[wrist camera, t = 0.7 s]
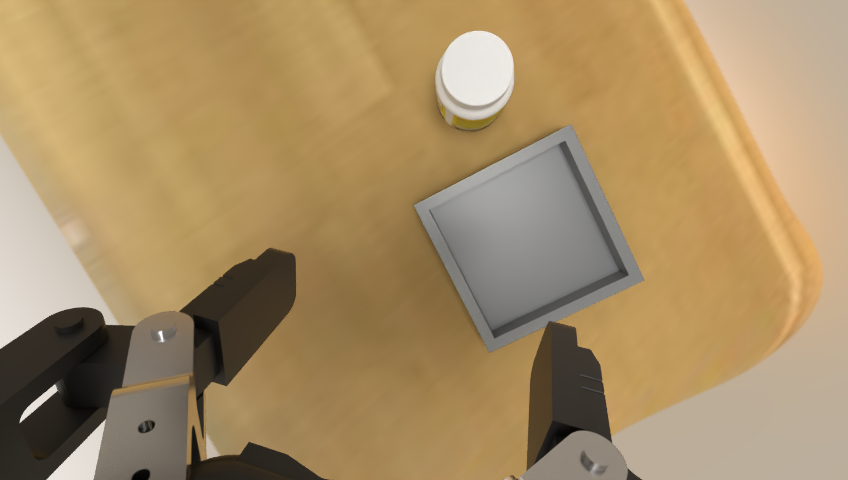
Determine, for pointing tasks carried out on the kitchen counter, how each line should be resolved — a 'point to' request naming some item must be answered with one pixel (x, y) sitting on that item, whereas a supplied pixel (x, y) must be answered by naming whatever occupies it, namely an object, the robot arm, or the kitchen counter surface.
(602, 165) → the kitchen counter surface
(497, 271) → the tray
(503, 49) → the supplement bottle
